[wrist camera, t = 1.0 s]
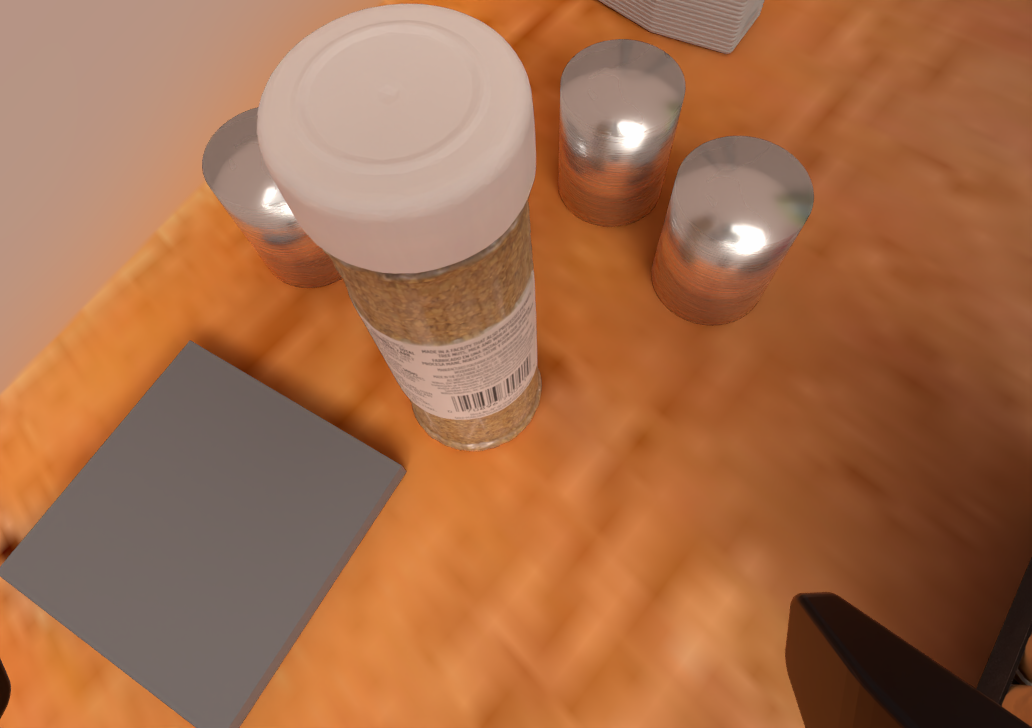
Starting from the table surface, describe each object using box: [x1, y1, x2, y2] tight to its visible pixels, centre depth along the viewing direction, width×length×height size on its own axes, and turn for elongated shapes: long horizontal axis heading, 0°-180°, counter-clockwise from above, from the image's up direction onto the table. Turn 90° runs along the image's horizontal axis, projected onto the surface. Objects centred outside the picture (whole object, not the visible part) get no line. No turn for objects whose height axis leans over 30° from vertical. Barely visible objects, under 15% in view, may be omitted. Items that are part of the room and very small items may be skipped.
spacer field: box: [202, 39, 814, 325], centre depth 23 cm, size 12×18×5 cm
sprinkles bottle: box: [257, 4, 542, 451], centre depth 17 cm, size 5×5×13 cm
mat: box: [0, 341, 406, 728], centre depth 21 cm, size 9×9×1 cm
